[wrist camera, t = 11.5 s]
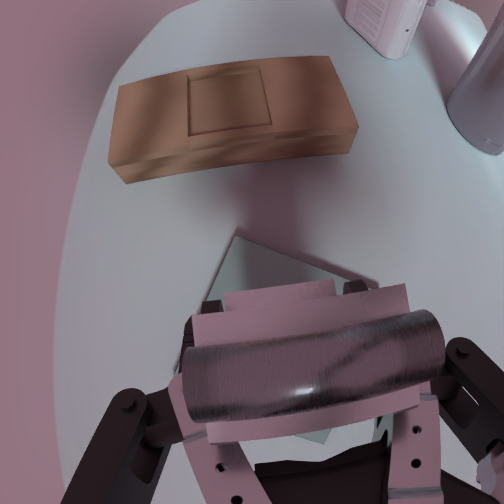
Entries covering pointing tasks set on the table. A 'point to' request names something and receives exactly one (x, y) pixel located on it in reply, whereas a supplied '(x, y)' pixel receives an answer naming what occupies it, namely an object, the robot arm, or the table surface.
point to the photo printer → (386, 23)
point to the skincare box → (431, 2)
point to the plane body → (230, 117)
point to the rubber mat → (266, 282)
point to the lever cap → (307, 360)
